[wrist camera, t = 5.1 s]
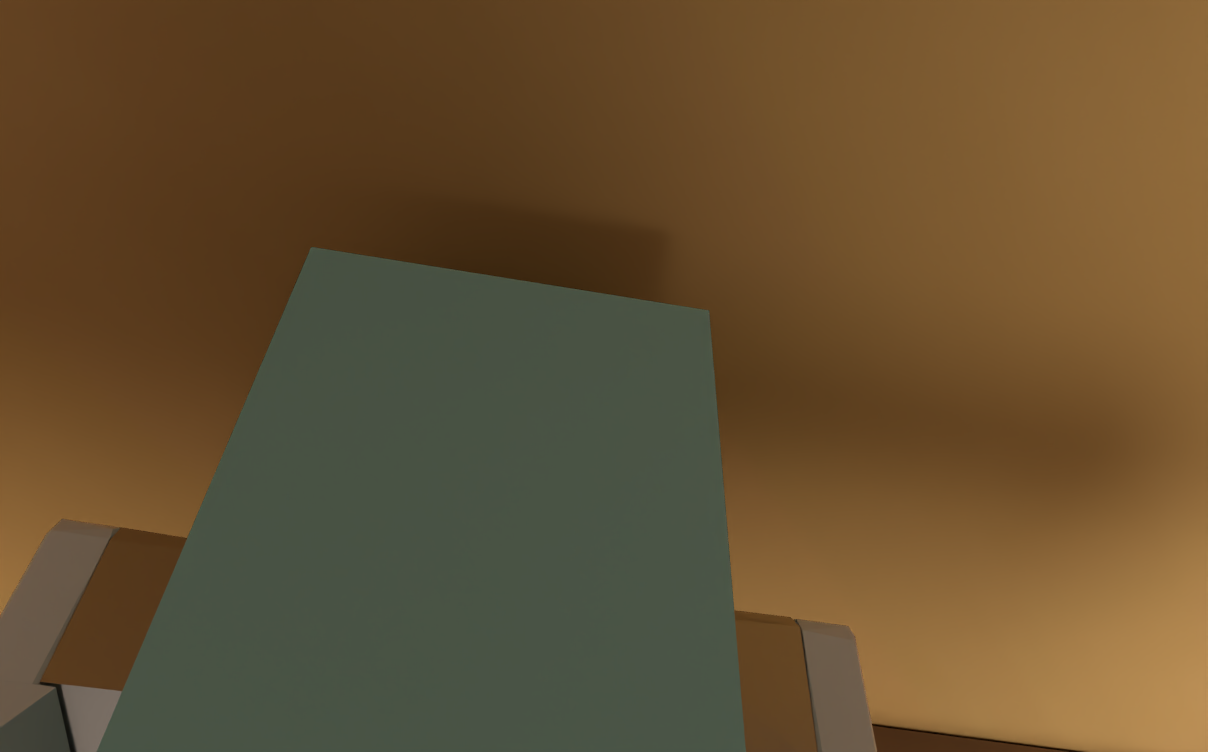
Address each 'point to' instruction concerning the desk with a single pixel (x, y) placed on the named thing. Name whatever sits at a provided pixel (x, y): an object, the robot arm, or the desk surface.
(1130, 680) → the desk surface
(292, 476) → the teal square prism
